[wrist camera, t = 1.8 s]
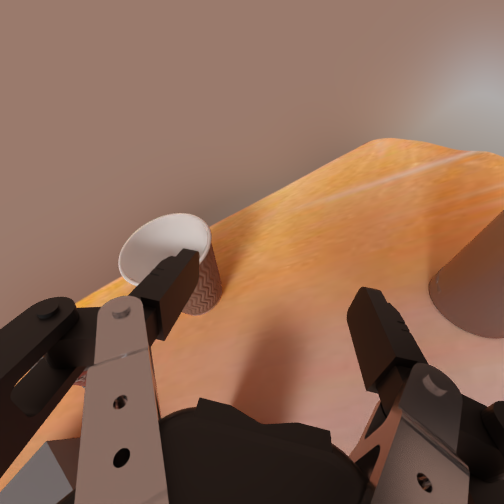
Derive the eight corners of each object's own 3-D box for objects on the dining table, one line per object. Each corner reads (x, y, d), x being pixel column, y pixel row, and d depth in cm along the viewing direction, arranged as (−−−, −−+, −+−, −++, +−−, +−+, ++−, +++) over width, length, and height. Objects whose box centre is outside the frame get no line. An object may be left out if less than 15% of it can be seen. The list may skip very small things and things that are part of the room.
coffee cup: (170, 272, 36) (128, 221, 27) (229, 260, 36) (209, 205, 26) (163, 334, 30) (106, 296, 20) (236, 320, 29) (212, 274, 20)
